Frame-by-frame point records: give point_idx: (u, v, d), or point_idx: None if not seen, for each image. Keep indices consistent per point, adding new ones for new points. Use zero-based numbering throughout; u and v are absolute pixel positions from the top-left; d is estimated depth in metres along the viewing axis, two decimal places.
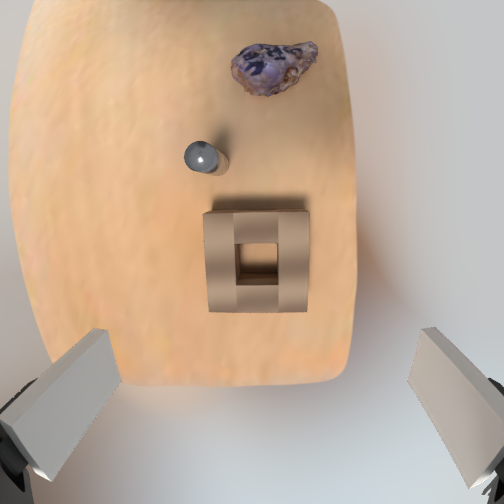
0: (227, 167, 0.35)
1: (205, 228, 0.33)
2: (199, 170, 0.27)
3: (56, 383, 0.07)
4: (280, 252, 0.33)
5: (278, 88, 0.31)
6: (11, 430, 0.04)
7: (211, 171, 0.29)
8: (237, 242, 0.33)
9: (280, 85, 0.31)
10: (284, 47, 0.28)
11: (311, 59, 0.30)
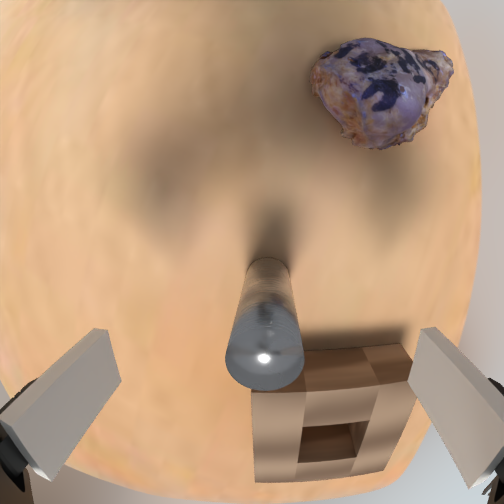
0: None
1: (255, 410, 0.17)
2: (264, 388, 0.11)
3: (56, 383, 0.07)
4: (369, 428, 0.17)
5: (402, 137, 0.15)
6: (11, 430, 0.04)
7: None
8: (307, 425, 0.17)
9: (405, 131, 0.15)
10: (415, 55, 0.12)
11: (445, 84, 0.14)
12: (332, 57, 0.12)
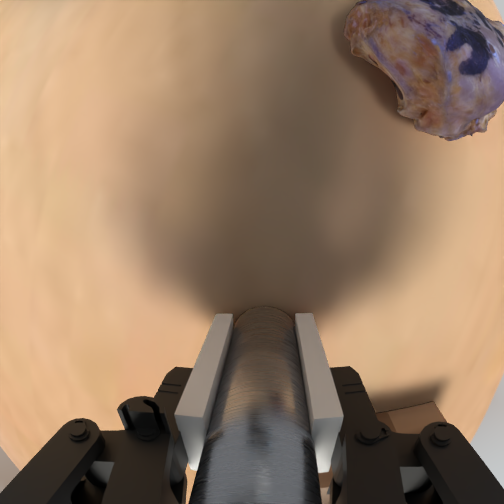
0: None
1: None
2: None
3: (218, 366, 0.09)
4: None
5: (477, 124, 0.08)
6: (192, 424, 0.06)
7: None
8: None
9: (479, 117, 0.08)
10: None
11: None
12: None
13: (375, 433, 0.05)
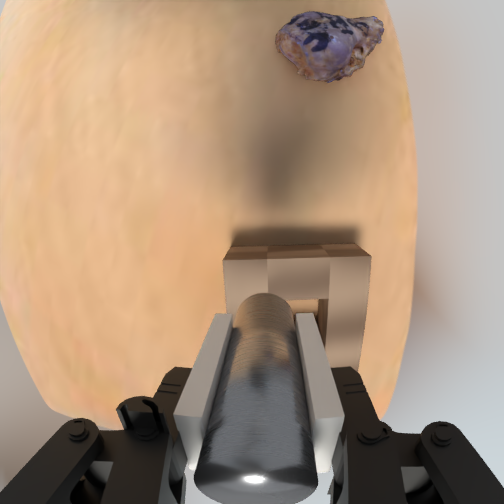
0: None
1: (227, 280, 0.23)
2: None
3: (217, 366, 0.09)
4: (330, 310, 0.23)
5: (343, 72, 0.21)
6: (191, 423, 0.06)
7: None
8: None
9: (344, 69, 0.21)
10: (347, 19, 0.18)
11: (377, 38, 0.20)
12: (286, 24, 0.18)
13: (376, 433, 0.05)
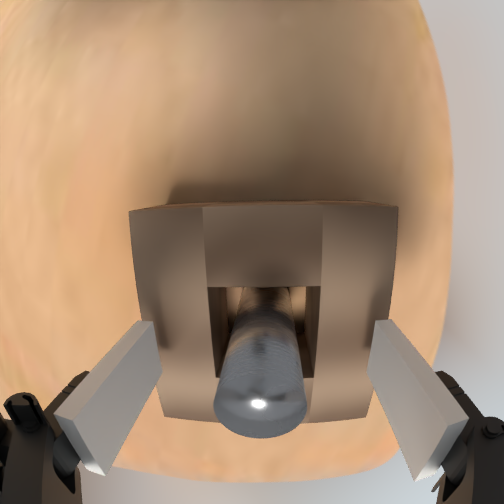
0: None
1: (136, 247, 0.12)
2: (259, 435, 0.09)
3: (112, 374, 0.08)
4: (324, 308, 0.13)
5: None
6: (69, 425, 0.05)
7: None
8: (215, 284, 0.13)
9: None
10: None
11: None
12: None
13: (497, 429, 0.04)
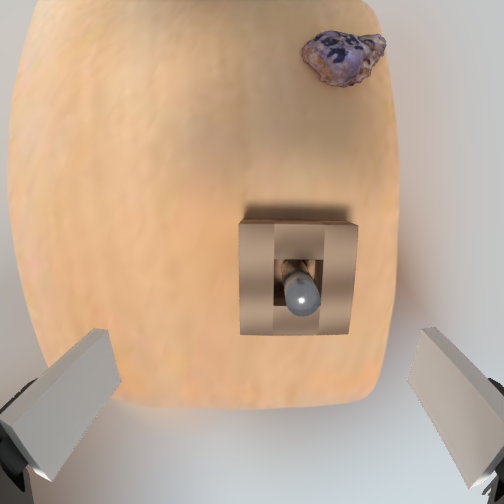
0: None
1: (241, 240, 0.29)
2: (302, 315, 0.25)
3: (56, 383, 0.07)
4: (325, 270, 0.29)
5: (355, 79, 0.27)
6: (11, 430, 0.04)
7: None
8: (277, 257, 0.29)
9: (356, 77, 0.27)
10: (358, 37, 0.24)
11: (381, 52, 0.26)
12: (312, 41, 0.24)
13: None
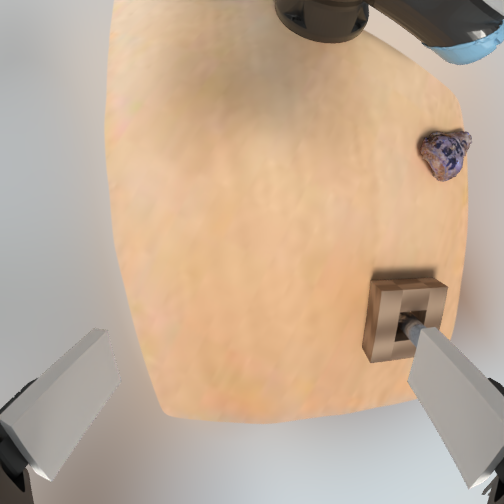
0: None
1: (381, 302, 0.37)
2: None
3: (56, 383, 0.07)
4: (426, 316, 0.38)
5: (453, 175, 0.35)
6: (11, 430, 0.04)
7: None
8: (401, 311, 0.38)
9: None
10: (459, 140, 0.33)
11: (468, 148, 0.34)
12: (435, 147, 0.33)
13: None
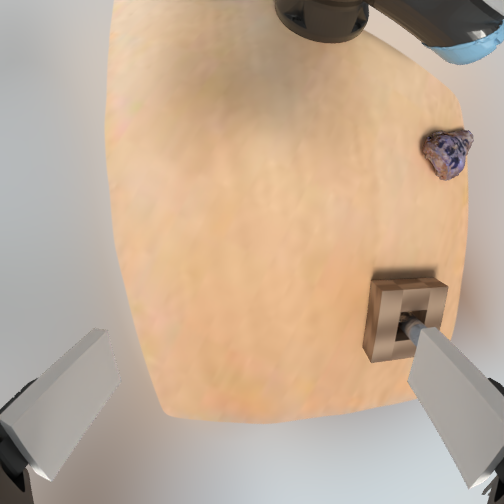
0: None
1: (382, 302, 0.37)
2: None
3: (56, 383, 0.07)
4: (427, 315, 0.38)
5: None
6: (11, 430, 0.04)
7: None
8: (402, 311, 0.38)
9: None
10: (461, 139, 0.33)
11: None
12: (437, 147, 0.33)
13: None
